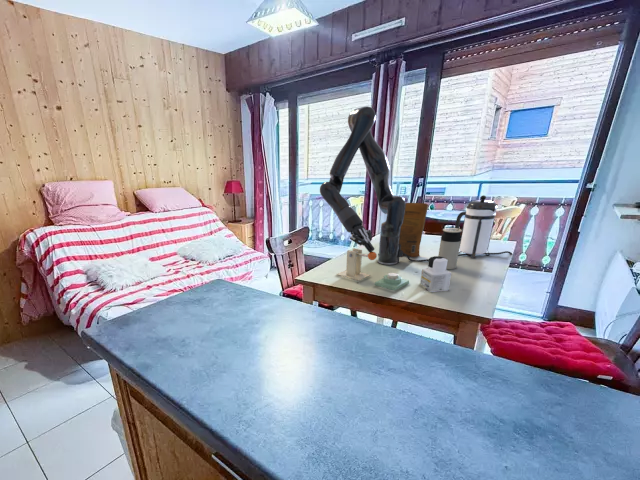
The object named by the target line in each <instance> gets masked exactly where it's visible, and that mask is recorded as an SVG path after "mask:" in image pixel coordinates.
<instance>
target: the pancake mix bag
mask: <svg viewBox="0 0 640 480" xmlns="http://www.w3.org/2000/svg"><path fill="white" fill-rule="evenodd" d="M428 208H429V204H428V203H424V202H406V209H405V215H404V221H403V224H402V226H401V232H400V242H399V244H401V249H400V250H402V251H403V253H405V254H407V255H408V256H409V258H418V257H420V256H421V255H420V249H421V242H422V238H423V232H424V229H425V225H426V218H427V214H428ZM404 256H405V255H403V257H404ZM405 257H406V256H405Z"/></svg>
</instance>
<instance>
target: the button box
mask: <svg viewBox="0 0 640 480" xmlns="http://www.w3.org/2000/svg"><path fill="white" fill-rule="evenodd" d="M387 276H388V274H384V276H383V278H381V279H379V280H377V281H375V282H374V286H378V287H381V288H385V289H388V290H391V291H397V290H399V289H400V288H402V287H404V286H406V285H408V284H409V283H410V280H409V279H405V278H402V276H400V275H398V279H388V278H387Z"/></svg>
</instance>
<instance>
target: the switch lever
mask: <svg viewBox="0 0 640 480" xmlns="http://www.w3.org/2000/svg"><path fill="white" fill-rule="evenodd" d="M355 252H357V256H356V257H358V256H362V257H364V258H367V259H369V260H370V261H375V260H376V259H377V256H378V254H377V253H376V252H375V251H372V252H368V253H363V252H362V253H358V251H355Z"/></svg>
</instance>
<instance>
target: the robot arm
mask: <svg viewBox="0 0 640 480" xmlns="http://www.w3.org/2000/svg"><path fill="white" fill-rule="evenodd" d="M376 117H377V116H376V111H375V109H374V108H373V107H371V106H369V105H368V106H367V105H366V106H361V107H357V108H355V109H353V110H351V111H350V112H349V114H348V117H347V124H348V129H349V130H350V132H351V133H350V135H349V137H348V139H347V141H346V142H345V144H344V145H343V146H342V148H341V149H340V150H339V152H338V154H337V155H336V157H335V158H334V160H333V163H332V166H331V168H330V169H329V176H330V177H329V180H328V181H325V182H323V183H322V184H321V185H320V187H319V193H320V196H321V197H322V199H323V200H324V201H325V202H326V203H327V204H328V205H329V206H330V207H331V209H332V210H333V212H334V214H335V215H336V217H337V218H338V221H339V222H340V223H341V225H342V227H343V228H344V230H346V232H347V233H350V235H351V236H350V237H349V239H350V241H352V242H354V243H355V244H357V245H359V246H360V247H361V246H362V247H365V249H366V250H367V252H368V253H370V252H374V251H375V247H374V246H373V244H372V242H371V241H372V240H373V236H372V235H373V234H372V230H371V229H366V227H365V226H363V220H362V219H361V217H360V216H359V214H358V213H357V211H356V210H355V209H354V208H353V207H352V206H351V204H350V203H349V201H348V200H347V199H346V198H345V197H344V196H342V195H341V191H342V188H343V184H344V180H345V178H346V175H347V173H348V171H349V169H350V166H351V164H352V161H353V159H354V158H355V157H356V155H357V152H358V150H359V152H360V155H361V158H362V160H363V163H364V166H365V168H366V171H367V174H368V176H369V178H370V181H371V184H372V186H373V189H374V192H375V196H376V200H377V203H378V207H379V210H380V211H381V213H383V214H385V215H386V219H385V221H383V222H382V223H381V224H380V233H379V245H378V254H377V256H378V258H377V263H379V264H381V265H385V266H387V265H388V266H393V265H397V264H400V258H403V257H404V255H405V257H406V259H407V260H408V261H409V262H418V263H419V262H420V263H421V262H422V263H423V262H429V258H428V259H411V257H409V256H408V255H407V254H405V253H403V251H402V250H400V249H401V244H399V242H400V232H401V226H402V224H403V221H404V215H405V209H406V203H407V202H406V200H405V198H404V197H403V196H400V195H395V194H393V192H392V189H391V186H390V181H389V179H390V165H389V161H388V158H387V155H386V153H385V152H384V150H383V149H382V146H380V144H379V143H378V142H377V141H376V139H375V138H374V136H373V134H372V131H371V129H372V128H373V126H374V124H375V122H376ZM485 254H486V255H489V254H490V255H502V254H509V255H513V253H512V252H511V251H509V250H508V251H507V250H505V251H501V252H489V253H488V252H486V253H485ZM485 254H484V255H485ZM463 256H472V254H466V253H459V254H458V257H463ZM479 256H481V254H479Z"/></svg>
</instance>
